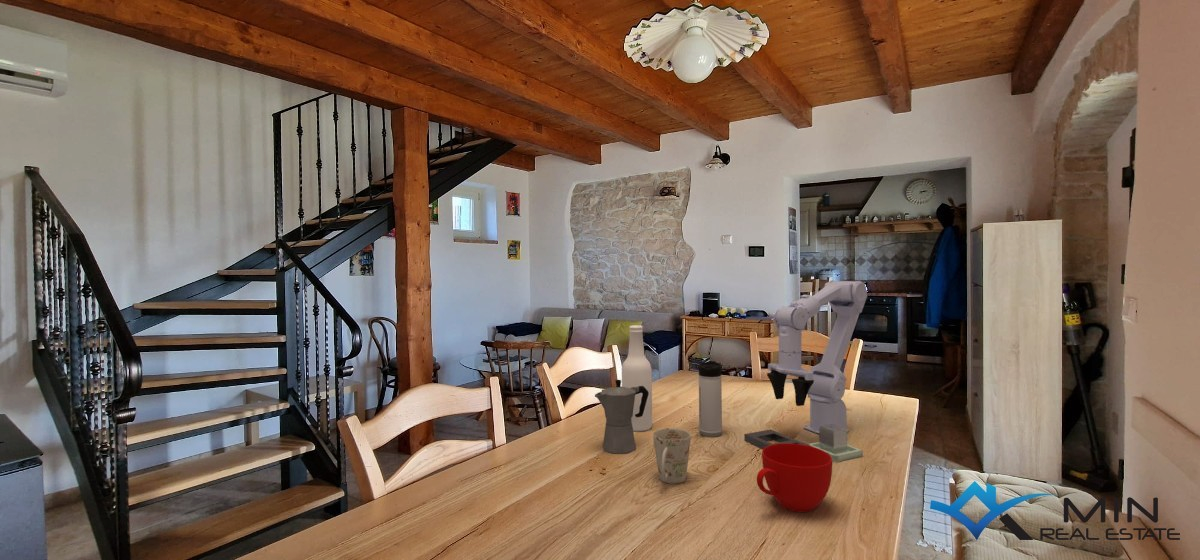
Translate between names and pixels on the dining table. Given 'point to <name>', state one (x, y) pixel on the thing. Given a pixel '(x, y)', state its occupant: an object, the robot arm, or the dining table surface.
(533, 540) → the dining table surface
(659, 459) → the mug
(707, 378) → the travel mug
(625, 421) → the coffeepot
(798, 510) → the ceramic cup
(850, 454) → the tray
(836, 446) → the grey rectangular block
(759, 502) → the dining table surface
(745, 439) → the dark grey flat frame
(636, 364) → the alcohol
